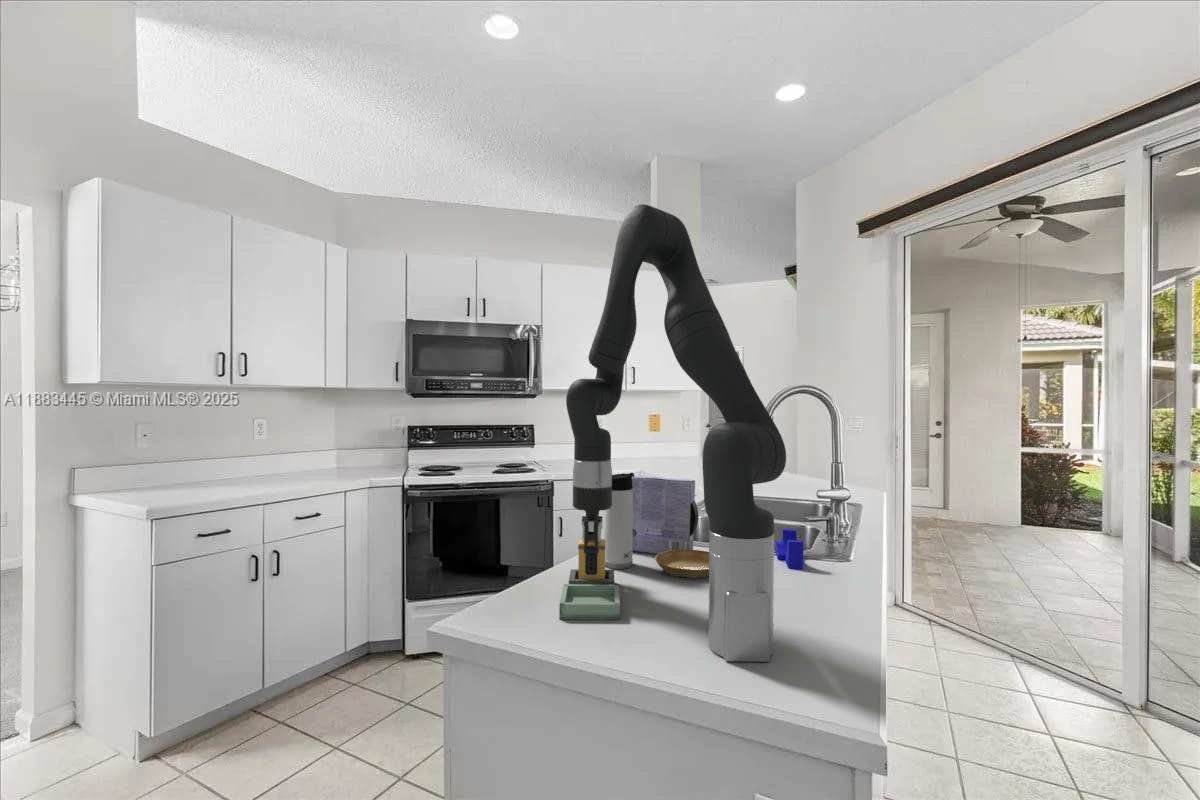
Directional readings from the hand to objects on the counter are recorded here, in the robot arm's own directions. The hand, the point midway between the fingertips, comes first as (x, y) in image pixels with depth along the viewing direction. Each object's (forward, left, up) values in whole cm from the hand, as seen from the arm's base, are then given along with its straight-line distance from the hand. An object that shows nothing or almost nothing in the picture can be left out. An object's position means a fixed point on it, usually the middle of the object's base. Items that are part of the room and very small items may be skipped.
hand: (591, 567), depth 113 cm
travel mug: (+15, -6, -4) cm, 16 cm away
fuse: (0, 0, -4) cm, 4 cm away
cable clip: (+19, -44, -4) cm, 47 cm away
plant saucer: (+12, -21, -4) cm, 24 cm away
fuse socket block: (0, 0, -4) cm, 4 cm away
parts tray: (-11, 0, -4) cm, 11 cm away
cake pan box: (+26, -15, -4) cm, 30 cm away
